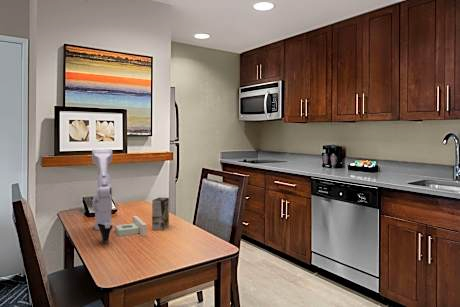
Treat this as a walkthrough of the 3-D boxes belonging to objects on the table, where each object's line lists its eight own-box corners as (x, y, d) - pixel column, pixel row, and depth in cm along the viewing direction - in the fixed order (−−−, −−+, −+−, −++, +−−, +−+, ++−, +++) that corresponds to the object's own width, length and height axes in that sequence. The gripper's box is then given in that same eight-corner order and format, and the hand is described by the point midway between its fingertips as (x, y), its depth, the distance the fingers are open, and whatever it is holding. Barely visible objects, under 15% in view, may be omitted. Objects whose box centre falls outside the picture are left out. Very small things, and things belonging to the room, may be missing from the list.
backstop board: (132, 226, 182) (132, 216, 182) (136, 226, 183) (136, 215, 183) (142, 236, 165) (142, 224, 165) (146, 236, 166) (146, 224, 166)
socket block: (115, 231, 174) (115, 225, 174) (134, 228, 179) (134, 223, 179) (119, 236, 165) (119, 230, 165) (139, 233, 170) (139, 227, 170)
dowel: (101, 241, 157) (101, 229, 156) (107, 240, 158) (107, 228, 158) (102, 243, 154) (102, 231, 154) (108, 242, 156) (108, 230, 155)
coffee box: (162, 230, 176) (162, 200, 175) (151, 229, 177) (151, 200, 176) (169, 225, 185) (169, 197, 184) (158, 225, 186) (158, 196, 185)
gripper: (93, 208, 159) (93, 236, 160) (98, 215, 147) (98, 245, 148) (108, 207, 163) (108, 234, 164) (114, 213, 150) (114, 242, 151)
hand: (105, 239), depth 156 cm, fingers closed on dowel, 3 cm apart
